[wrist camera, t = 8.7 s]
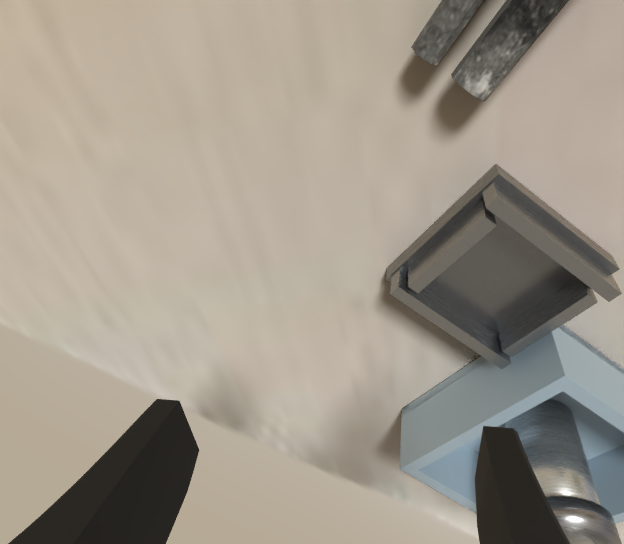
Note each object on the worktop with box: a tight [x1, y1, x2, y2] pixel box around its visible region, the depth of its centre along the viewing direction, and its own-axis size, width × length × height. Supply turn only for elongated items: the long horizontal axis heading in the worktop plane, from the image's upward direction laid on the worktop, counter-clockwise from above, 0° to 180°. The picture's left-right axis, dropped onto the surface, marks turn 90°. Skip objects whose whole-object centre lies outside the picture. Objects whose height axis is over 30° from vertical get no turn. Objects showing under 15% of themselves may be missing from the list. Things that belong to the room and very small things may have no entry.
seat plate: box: [386, 164, 622, 369], centre depth 18 cm, size 6×6×2 cm
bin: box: [400, 325, 624, 524], centre depth 22 cm, size 9×9×4 cm
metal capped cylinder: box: [503, 399, 621, 544], centre depth 21 cm, size 4×4×6 cm
